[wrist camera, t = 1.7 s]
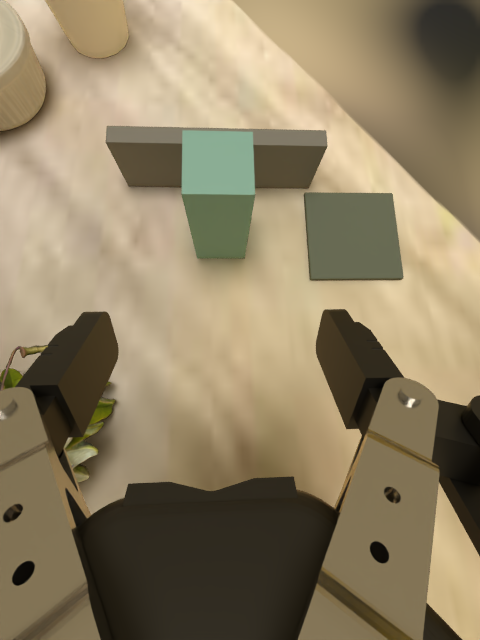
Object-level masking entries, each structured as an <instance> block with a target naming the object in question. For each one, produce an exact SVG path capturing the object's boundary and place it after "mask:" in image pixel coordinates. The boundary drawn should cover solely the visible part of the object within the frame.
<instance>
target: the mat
mask: <svg viewBox="0 0 480 640" xmlns="http://www.w3.org/2000/svg"><path fill="white" fill-rule="evenodd" d="M304 203H305V217H306V231H307V245H308V259H309V273H310V280H396V279H403V270H402V262H401V255H400V247H399V240H398V232H397V225H396V217H395V210H394V202H393V194H392V193H305V194H304Z"/></svg>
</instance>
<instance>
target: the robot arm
mask: <svg viewBox="0 0 480 640" xmlns="http://www.w3.org/2000/svg"><path fill="white" fill-rule="evenodd" d="M316 354H317V358H318V360H319V363H320V365H321V367H322V370H323V372H324V375H325V377H326V380H327V382H328V385H329V387H330V390H331V392H332V395H333V397H334V399H335V402H336V404H337V407H338V409H339V412H340V414H341V417H342V419H343V422H344V424H345V427H346V429H359V430H360V432H361V434H362V436H361V439H360V441H359V444H358V447H357V449H356V452H355V455H354V457H353V460H352V463H351V465H350V468H349V471H348V474H347V476H346V479H345V482H344V484H343V487H342V490H341V492H340V495H339V497H338V500H337V502H336V505H335V507H334V508H333V507H332V506H330V505H329V504H327V503H326V502H324V501H323V500H321V499H319V498H317V497H315V496H313V495H311V494H309V493H306V492H303V491H300V490H296V486H295V481H294V477H274V478H254V479H250V480H247V481H244V482H241V483H238V484H235V485H232V486H229V487H226V488H223V489H220V490H217V491H205V490H201V489H197V488H193V487H189V486H184V485H180V484H176V483H172V482H159V483H135V484H128V487H127V491H126V495H125V498H122V499H120V500H117V501H115V502H113V503H111V504H109V505H107V506H105V507H103V508H102V509H100V510H98V511H97V512H95V513H94V514H93V515H91V513H90V511H89V509H88V507H87V505H86V503H85V500H84V498H83V495H82V493H81V490H80V487H79V485H78V482H77V479H76V476H75V474H74V471H73V468H72V465H71V463H70V460H69V457H68V455H67V452H66V450H65V448H64V446H65V444H66V442H67V440H68V438H71V437H84V434H85V432H86V430H87V428H88V425H89V423H90V421H91V419H92V416H93V414H94V412H95V409H96V407H97V405H98V403H99V400H100V398H101V396H102V394H103V391H104V389H105V387H106V385H107V382H108V380H109V378H110V375H111V373H112V371H113V369H114V366H115V364H116V362H117V359H118V343H117V340H116V337H115V333H114V330H113V326H112V323H111V319H110V316H109V314H108V313H107V312H83V313H82V314H81V316H80V317H79V318H78V320H77V321H76V322H75V324H74V325H73V326H68V327H66V328H65V329H63V330H62V331H61V332H59V333H58V334H56V335H55V336H54V338H53V339H52V340H51V341H50V343H49V344H48V347H46V348H45V349H44V350H43V352H42V353H41V356H39V357H38V358H37V359H36V361H35V362H34V363H33V364H32V366H31V367H30V368H29V370H28V371H27V372H26V373H25V375H24V376H23V377H22V378H21V380H20V381H19V382H18V384H17V385H16V386H15V387H13V388H8V389H4V390H1V391H0V640H462V639H461V638H460V637H459V636H458V635H457V634H456V633H455V632H454V631H453V630H452V629H451V628H450V627H449V625H448V624H447V623H446V622H445V621H444V620H443V619H442V618H441V617H440V616H439V615H438V614H437V613H436V612H435V611H434V610H433V609H432V608H431V607H430V606H429V605H428V604H427V603H426V602H427V592H428V582H429V572H430V563H431V553H432V543H433V533H434V523H435V514H436V504H437V494H438V484H439V482H440V484H441V486H442V488H443V490H444V492H445V493H446V495H447V497H448V499H449V501H450V503H451V504H452V506H453V508H454V510H455V512H456V514H457V515H458V517H459V519H460V521H461V523H462V525H463V526H464V528H465V530H466V532H467V534H468V536H469V537H470V539H471V541H472V543H473V545H474V547H475V548H476V550H477V552H478V554H479V556H480V396H476V397H474V398H473V399H472V400H471V402H470V403H469V404H468V406H463V405H459V404H454V403H450V402H445V401H441V400H437V399H436V397H435V395H434V394H433V393H432V392H431V391H430V390H429V389H428V388H426V387H425V386H423V385H422V384H420V383H418V382H416V381H414V380H411V379H407V378H404V377H403V375H402V374H401V372H400V371H399V370H398V368H397V367H396V365H395V364H394V363H393V361H392V360H391V358H390V357H389V356H388V354H387V353H386V351H385V350H383V347H382V346H381V344H380V343H379V342H377V339H376V337H375V336H374V335H373V333H372V332H371V330H369V329H368V328H367V327H365V326H364V325H362V324H361V323H360V322H354V321H353V319H352V318H351V316H350V315H349V313H348V312H347V311H346V310H345V309H334V310H324V311H323V314H322V317H321V322H320V327H319V331H318V336H317V340H316Z"/></svg>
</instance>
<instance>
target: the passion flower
mask: <svg viewBox="0 0 480 640" xmlns="http://www.w3.org/2000/svg"><path fill="white" fill-rule="evenodd" d="M46 347H48V345H45V346H33V347H29V348H26V347H20V346H18V347H17V348H16V349H14V350H13V352H12V354H11V357H10V359H9V362H8V364H7V366H6V369H5V370H3V371H2V373H1V376H0V391H1V390H4V389H8V388H13V387H15V386H16V385H17V384H18V382H19V381H20V380H21V378H22V377H23V376H22V375H21V374H20V372H19V371H17V370H15V369H10V368H9V366H10V365H11V363H12V359H13V356H14V354H15V352H16V351H17V350H18V349H20V353H21V356H22V358H25V357H26V356H27V355H31V354H36V353H40V352H43V350H44V349H45V348H46ZM110 384H112V383H111V382H107V385H106V386H108V385H110ZM114 402H115V399H111V400H110V399H106V398H100V400H99V403H98V405H97V407H96V409H95V412H94V414H93V416H92V419H91V421H90V423H89V425H88V428H87V430H86V432H85V434H84V437H71V438H68V440H67V442H66V444H65V446H64V448H65V450H66V452H67V455H68V457H69V460H70V463H71V465H72V468H73V471H74V474H75V476H76V479H77V482H81V481H84V480H86V479H88V478H89V472H88V469H87V468H86V466H84V465H81V464H80V463H83V462H84V461H86V460H87V459H89V458H91V457H93V456H95V455H97V454H98V449H97V448H96V447H94V446H93V445H92V444H90V443H86V442H84V440H85V439H86V438H88V437H90V436H92V435H93V434H95V433H97V432H98V431H99V430H100V429H101V428H102V427H103V424H104V422H100V423H97V422H99V421H100V420H103V419H106V418H107V417H108V416H109V415H110V414H111V413H112V406H113V404H114ZM95 423H96V424H95Z"/></svg>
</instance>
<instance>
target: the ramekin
mask: <svg viewBox="0 0 480 640" xmlns="http://www.w3.org/2000/svg"><path fill="white" fill-rule="evenodd" d="M45 93H46V82H45V76H44V73H43V71H42V68H41V66H40V64H39V61H38V59H37V57H36V54H35V52H34V50H33V47H32V45H31V43H30V38H29V34H28V31H27V29H26V27H25V25H24V23H23V21H22V20H21V18H20V17H19V15H18V14H17V12H16V11H15V10H14V9H13V8H12V7H11V6H10V5H9V4H8V3H7V2H6V1H4V0H0V131H5V130H10V129H13V128H16V127H19V126H21V125H23V124H25V123H27V122H28V121H29V120H31V119H32V118H33V117H34V116H35V115H36V114H37V113H38V111H39V110H40V108H41V106H42V104H43V102H44V98H45Z"/></svg>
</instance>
